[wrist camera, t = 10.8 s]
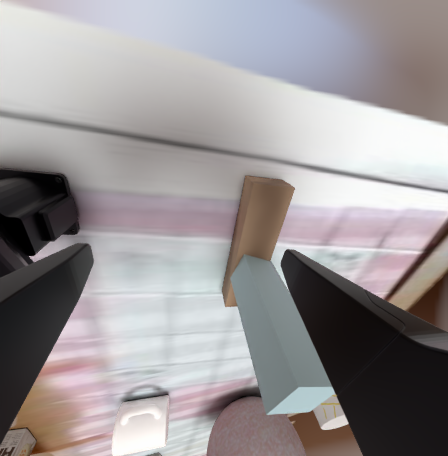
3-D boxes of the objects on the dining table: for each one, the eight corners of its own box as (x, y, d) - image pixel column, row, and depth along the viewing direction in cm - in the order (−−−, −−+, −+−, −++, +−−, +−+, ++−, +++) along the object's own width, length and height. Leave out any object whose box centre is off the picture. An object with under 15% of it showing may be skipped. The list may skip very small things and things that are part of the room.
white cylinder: (327, 340, 44) (370, 408, 33) (316, 359, 48) (351, 424, 37) (296, 345, 42) (331, 417, 32) (287, 363, 46) (315, 432, 36)
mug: (169, 402, 47) (166, 451, 40) (126, 409, 45) (115, 462, 38) (167, 380, 41) (163, 432, 34) (118, 387, 39) (103, 444, 32)
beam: (222, 290, 29) (225, 306, 27) (245, 175, 21) (253, 183, 18) (249, 289, 30) (254, 305, 28) (282, 179, 22) (295, 187, 19)
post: (230, 278, 24) (266, 415, 13) (243, 254, 22) (298, 387, 11) (256, 283, 25) (309, 411, 14) (271, 261, 24) (344, 386, 13)
